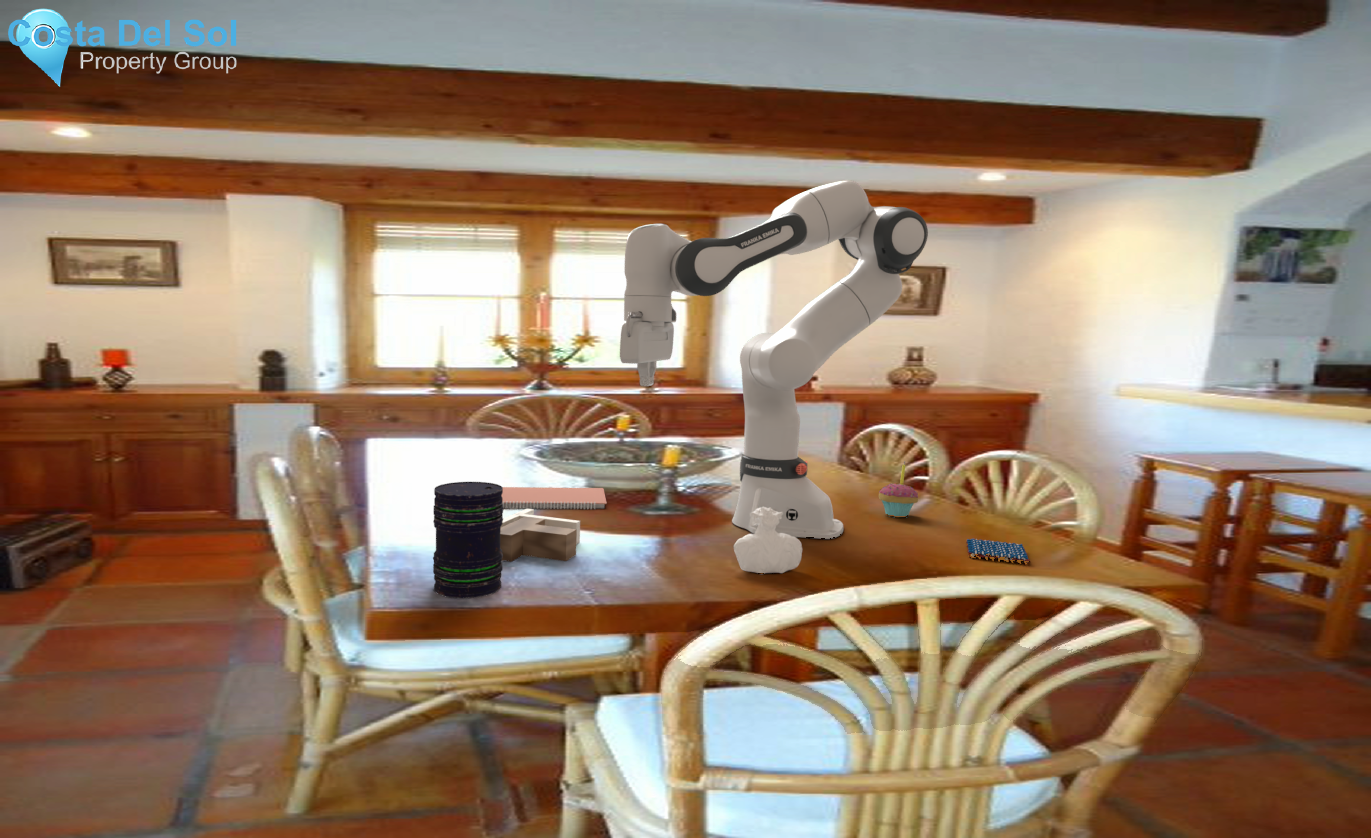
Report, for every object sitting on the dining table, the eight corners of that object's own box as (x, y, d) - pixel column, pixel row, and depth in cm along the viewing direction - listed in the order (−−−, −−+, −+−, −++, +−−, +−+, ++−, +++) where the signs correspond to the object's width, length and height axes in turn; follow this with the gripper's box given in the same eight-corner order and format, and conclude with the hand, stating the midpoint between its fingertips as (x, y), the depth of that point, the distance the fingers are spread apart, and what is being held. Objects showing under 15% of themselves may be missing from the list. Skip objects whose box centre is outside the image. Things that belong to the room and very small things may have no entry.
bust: (797, 579, 134) (785, 518, 140) (814, 563, 128) (800, 500, 133) (730, 583, 131) (720, 520, 136) (744, 566, 125) (732, 501, 130)
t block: (585, 549, 139) (586, 524, 139) (555, 568, 128) (555, 540, 128) (524, 541, 143) (524, 516, 142) (489, 559, 131) (489, 532, 131)
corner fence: (588, 537, 147) (589, 516, 147) (518, 577, 122) (519, 552, 122) (526, 529, 151) (526, 508, 150) (446, 566, 126) (446, 542, 126)
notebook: (476, 511, 165) (476, 502, 165) (484, 494, 182) (484, 485, 182) (606, 512, 170) (606, 503, 169) (603, 495, 186) (603, 486, 186)
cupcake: (886, 509, 181) (890, 457, 179) (922, 515, 176) (926, 462, 175) (871, 515, 174) (875, 461, 173) (909, 522, 169) (913, 467, 168)
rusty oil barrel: (436, 601, 111) (437, 497, 109) (429, 580, 120) (429, 483, 118) (508, 594, 115) (509, 493, 113) (496, 574, 124) (497, 480, 122)
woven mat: (1031, 568, 140) (1032, 557, 140) (967, 561, 143) (968, 550, 143) (1024, 553, 150) (1025, 543, 150) (965, 547, 153) (966, 536, 153)
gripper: (644, 311, 138) (644, 390, 140) (679, 313, 157) (678, 382, 159) (611, 311, 140) (610, 389, 141) (649, 312, 159) (648, 381, 161)
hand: (646, 385), depth 150 cm, fingers closed
